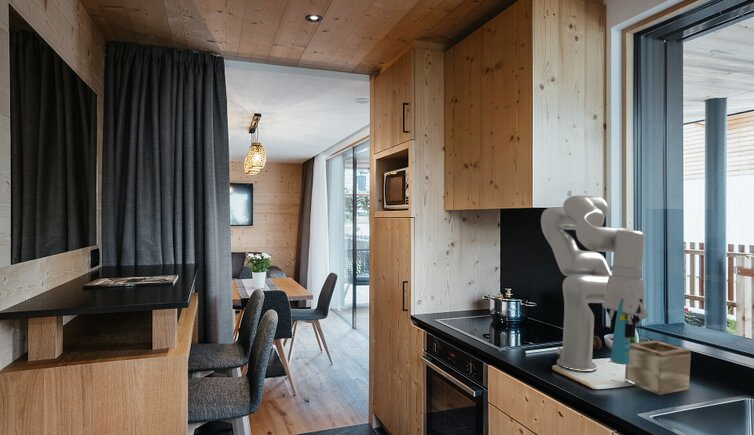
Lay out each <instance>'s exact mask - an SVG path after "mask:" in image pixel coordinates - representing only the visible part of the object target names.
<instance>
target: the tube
mask: <svg viewBox="0 0 754 435" xmlns="http://www.w3.org/2000/svg"><path fill="white" fill-rule="evenodd" d="M621 301H622V299H621V300H620V303H619V306H618V311H617V316H616V322H615V329H614V333H613V337H612V344H611V353H610V362H612V363H615V364H618V365H623V366H624V365H625V366H626V364H629V353H630V343H631V338H626V337H625V329H626V324H628V318H627V314H626V313H623V312H622V302H621Z"/></svg>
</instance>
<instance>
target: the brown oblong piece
mask: <svg viewBox="0 0 754 435" xmlns="http://www.w3.org/2000/svg"><path fill="white" fill-rule="evenodd" d="M602 346H603V344H602V340H601V338H600V337H599V336H597V335H594V334H593V350H598V351H599V350H600V349H601V348H602Z"/></svg>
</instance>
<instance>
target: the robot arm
mask: <svg viewBox="0 0 754 435" xmlns="http://www.w3.org/2000/svg"><path fill="white" fill-rule="evenodd" d="M608 208H609V207H608V204H607V202H606V200H605V199H604V198H603V197H600V196H598V195H596V196H593V195H572V196H569V197H568V198H566V199H565V200H564V202H563V205H562V206H554V207H553V206H552V207H549V208H546V209H544V210H543V211H542V214H541V218H540V225H541V226H540V227H541V230H542V233H543V235H544V237H545V239H546V241H547V243H548V245H550V247H551V250H552V252H553V255H554V257H555V261H556V263H557V265H558V268H559V270H560V272H561V274H562V275H563V276H566V277H565V278H564V280H563V282H562V294H563V304H564V307H563V308H564V309H563V310H564V312H563V313H564V314H563V330H562V331H563V334H562V335H563V336H562V347H559V346H558V347H557V349H555V351H554V353H555V354H557V355H559V358H558V359H557V360H556V364H557V365H558V366H559V365H562V366H565V367H568V368H573V369H580V370H587V369H594V368H596V367H598V366H597V364H596V363H594V362H593V351H594V349H593V335H594V330H595V329H594V328H595V314H594V313H593V311H592V309H591V308H590V305H589V304H591V303H592V304H601V306H602V308H603V309H604V310H605V311H606V313H607V314H608V317H609V319H610V324H609V325H610V326H609V330H610V331H609V332H610V333H612V334H614V329H615V322H616V316H617V311H618V306H619V303H620V300H621V299H622V301H621V302H622V312H623V313H626V314H627V318H628V324H626V329H625V337H626V338H630V339H631V338H634V337H635V335H636V326H637V324H639V322H640V321H642V320H644V319H646V318H648V317H649V316H648V312H647V311H646V309H645V285H644V280H643V278H642V274H643V273H642V272H643V271H642V270H643V260H644V259H643V258H644V257H643V256H644V244H645V235H644V233H643V232H642V231H640V230H632V229H629V228H625V227H612V226H603V225H604V223H605V219H606V216H607V214H608V212H609V209H608ZM565 230H567V231H568V230H570V231H572V230H573V231H575V235H576V238H577V240H578V242H579V243H580V244H582V246H584V248H585V249H587V250H582V249H580V248H579V246H578V245H577V242H576V241H575V239H574V238H573V237H572V236H571V235H570V234H569V233H568V232H566V231H565ZM601 252H604V253H607V252H609V253H613V258H612V265H610V267H609V264H608V262H607V260H606V258H605V257H604V255H602V254H601Z"/></svg>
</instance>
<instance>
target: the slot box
mask: <svg viewBox="0 0 754 435" xmlns="http://www.w3.org/2000/svg"><path fill="white" fill-rule="evenodd" d="M691 355H692V350H690V349H687V348H683V347H680V346H676V345H673V344H671V343H670V344H669V343H665V342H662V341H658V340H649V341H639V342H630V353H629V364H625V372H624V376H625V377H624V380H625V379H627V380H630V381H632V382H634V383H635V385H634V386H635V387H638V388H641V389H644V390H646V391H648V392H649V391H650V392H652V393H654V394H657V395H659V396H662V395H666V394H672V393H677V392H683V391H687V390H690V377H691V376H690V374H691V372H690V371H691V360H692V357H691Z"/></svg>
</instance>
